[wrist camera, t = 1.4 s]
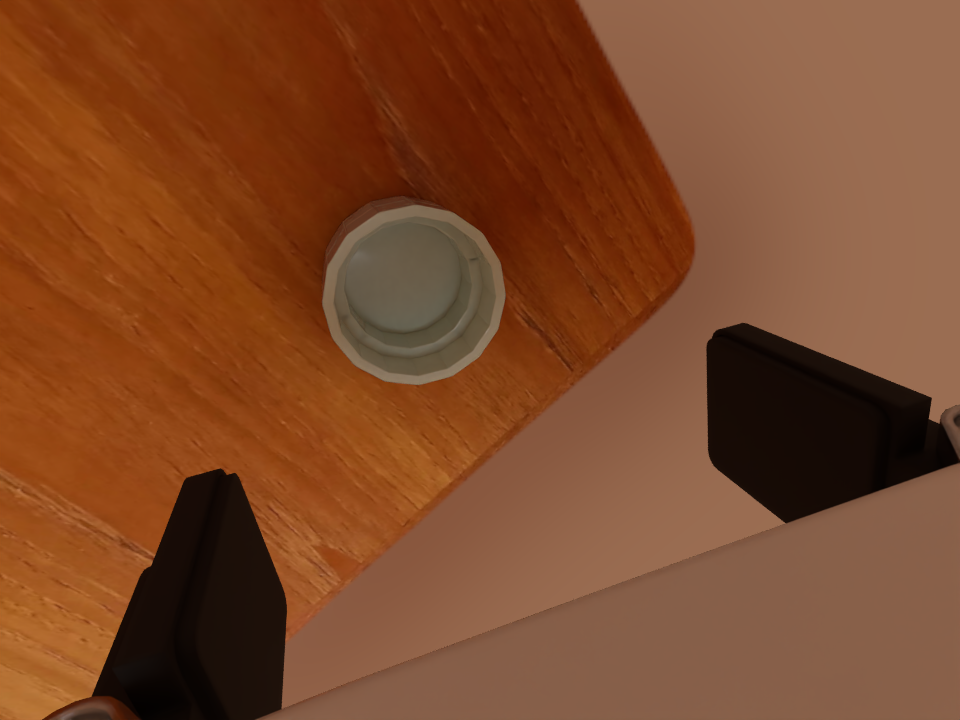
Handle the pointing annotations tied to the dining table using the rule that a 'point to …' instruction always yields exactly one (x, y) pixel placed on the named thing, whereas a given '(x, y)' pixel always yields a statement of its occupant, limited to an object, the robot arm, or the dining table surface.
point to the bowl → (411, 290)
